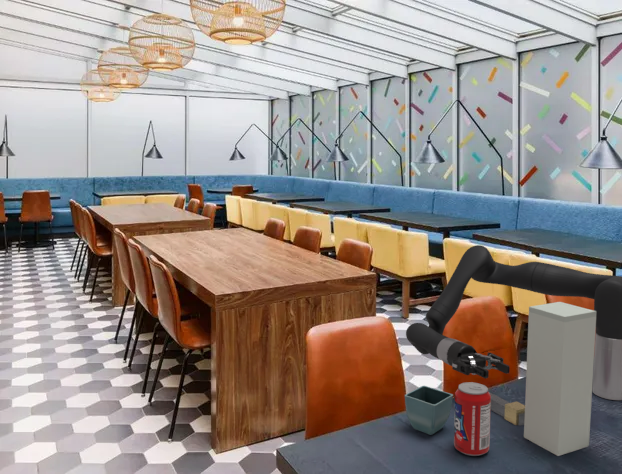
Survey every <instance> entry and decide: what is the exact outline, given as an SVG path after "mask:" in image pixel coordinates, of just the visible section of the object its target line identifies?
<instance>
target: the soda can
mask: <svg viewBox="0 0 622 474" xmlns="http://www.w3.org/2000/svg"><path fill="white" fill-rule="evenodd" d="M489 392H490V391H489V388H488V387H487V386H486V385H485V384H481V383H478V382H473V381H471V382H467V381H466V382H462V383H460V384H458V388H457V389H456V391H455V392H454V417H453V418H454V419H453V420H454V423H453V424H454V425H453V427H454V428H453V446H454V448H455V449H456V450H457V451H459V452H460V453H462V454H464V455H466V456H471V457H477V456H482V455H485V454H487V453H488V452H489V451H490V444H491V443H490V441H491V440H490V439H491V437H490V436H491V415H492V414H491V395H490V394H489Z"/></svg>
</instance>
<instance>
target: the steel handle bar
mask: <svg viewBox="0 0 622 474" xmlns="http://www.w3.org/2000/svg"><path fill="white" fill-rule="evenodd" d="M488 392H489V394H490V395H491V411H492V412H494V413H495V414H497V415H499V416H501V417H502V418H503V419H504V420H506V421H508V422H510V423H511V424H513V425H515V426H520V427H521V426H524V420H525V404H523V403H521V402H519V401H513V402H510V401H508V400H506V399H503V398H502V397H500V396H498V395H496V394H494V393H493V392H490V391H488Z"/></svg>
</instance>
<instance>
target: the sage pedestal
mask: <svg viewBox="0 0 622 474" xmlns="http://www.w3.org/2000/svg"><path fill="white" fill-rule="evenodd" d="M527 322H528V324H527V325H528V327H527V347H526V375H525V397H524V398H525V401H524V405H525V420H524V425H523V426H524V427H523V438H524V439H526V440H529V441H530V442H532V443H533V444H535V445H537V446H539V447H541V448H543V449H544V450H546V451H548V452H549V453H552V454H554V455H555V456H557V457H560V456H562V455H565V454H569V453H572V452H575V451H578V450H581V449H584V448H588V447H590V433H591V431H590V430H591V415H592V397H593V372H594V355H595V336H596V311H594V309H589V308H585V307H583V306H582V307H581V306H577V305H574V304H570V303H565V302H563V301H556V302H550V303H544V304H538V305H537V304H536V305H531V306H529V307H528V320H527Z"/></svg>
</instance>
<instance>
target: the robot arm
mask: <svg viewBox="0 0 622 474" xmlns="http://www.w3.org/2000/svg"><path fill="white" fill-rule="evenodd" d="M471 279H472V280H474V281H475V282H478V283H483V284H492V285H501V286H507V287H511V288H517V289H520V290H521V289H522V290H525V291H529V292H534V293H538V294H542V295H546V296H552V297H553V296H554V297H573V298H575V297H576V298H577V297H578V298H579V297H580V298H585V299H586V298H587V299H590V300H591V299H592V300H593V311H596V329H595V347H594V365H593V383H592V394H594V395H596V396H598V397H600V398H602V399H606V400H613V401H622V275H609V274H600V273H599V274H598V273H592V272H591V273H590V272H585V271H583V270H578V269H573V268H570V267H566V266H560V265H556V264H551V263H546V262H541V261H540V262H539V261H529V262H524V263H521V264H517V265H509V264H505V263H500V262H497V261H495V260H494V258H493V255H492V254H491V252H490V250H489V249H488V248H487V247H486V246H484V245H480V244H479V245H473V246H471V247H469V248H468V249H466V251H465V252H464V253H463V255H462V256H461V258H460V260H459V261H458V264H457V266H456V267H455V270H454V271H453V273H452V275H451V277H450V278H449V280H448V282H447V284H446V286H445V287H444V288H443V290H442V292H441V293H440V295H439V296H438V298H437V299H436V300H435V301H434V302H433V304H432V305H431V307H430V308H429V310H427V312H426V314H425V318H426V320H427V323H428V325H427V324H425V323H422V322H415V323H412V324H410V325H409V326H408V327H407V329H406V330H405V337H406V339H407V341H408V342H409V343H410V344H411V345H412V346H413V347H414V348H415V349H416V351H417V352H418V353H420V354H422V355H428V354H430V355H431V356H432V357H434V358H435V359H438V360H440V361H442V362H443V363H445V364H446V365H448V366H451V367H452V370H453V371H456V372H459V373H461V374H462V375H464V376H470V374H471V375H473V376H475V375H476V376H479V377H481V378H483V379H489V377H490V375H489V373H490V372H489V370H491V369H493V370H497V371H499V372H502V373H503V374H506V375H507V374H510V369H511V368H510V365H509V364H507V363H504V358H503V357H501V356H499V355H497V354H494V353H493V352H487V355H485V354H482V353H478V352H477V350H476V349H475V347H473V346H472V345H470V344H469V343H465V342H463V341H460V340H458V339H455V338H451V337H448V336H446V335H444V334H443V333H444V331H445V328H446V326H447V324H448V323H449V322H450V321H451V319H452V318H453V316H454V315H455V314H456V313H457V311H458V309H459V307H460V305H461V302H462V299H463V296H464V294H465V290H466V288H467V286H468V284H469V282H470V280H471Z"/></svg>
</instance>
